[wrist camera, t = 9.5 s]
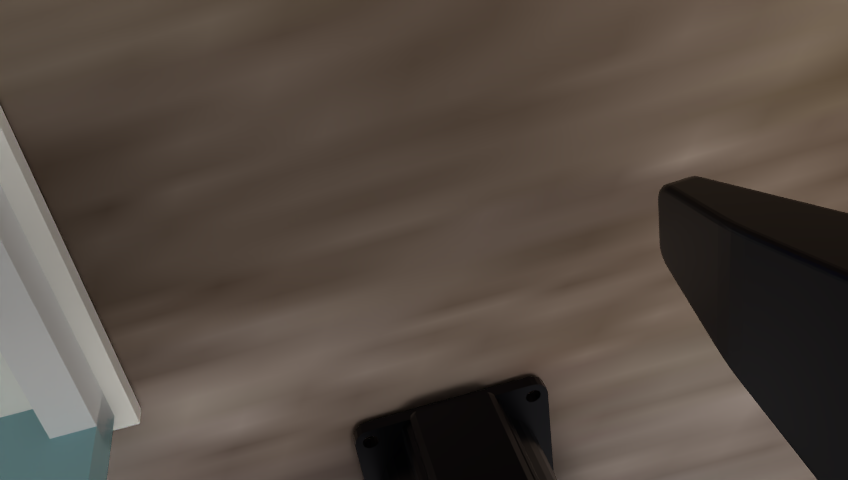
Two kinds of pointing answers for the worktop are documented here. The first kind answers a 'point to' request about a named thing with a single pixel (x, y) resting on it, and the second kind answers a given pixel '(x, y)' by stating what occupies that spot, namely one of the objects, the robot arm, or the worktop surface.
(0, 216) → the end holder
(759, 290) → the robot arm
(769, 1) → the worktop surface
